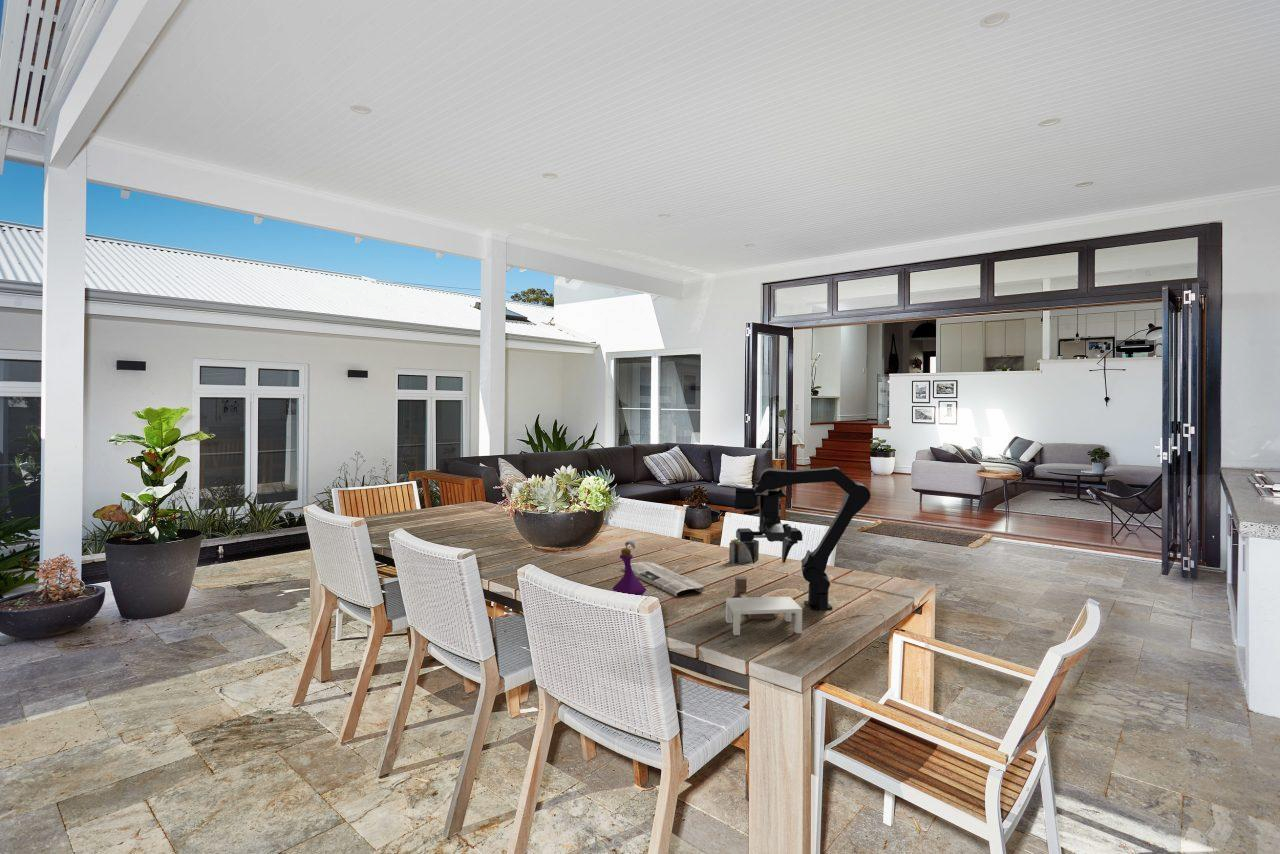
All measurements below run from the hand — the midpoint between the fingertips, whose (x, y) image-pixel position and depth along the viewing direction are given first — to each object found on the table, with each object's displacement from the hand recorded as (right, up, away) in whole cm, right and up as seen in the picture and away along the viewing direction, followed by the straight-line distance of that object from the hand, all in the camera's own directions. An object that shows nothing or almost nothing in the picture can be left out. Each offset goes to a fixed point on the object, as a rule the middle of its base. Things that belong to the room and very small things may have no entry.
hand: (768, 563), depth 192 cm
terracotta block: (-1, -13, -9) cm, 16 cm away
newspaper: (-30, -11, +23) cm, 39 cm away
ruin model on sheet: (0, -10, +47) cm, 48 cm away
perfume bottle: (-41, -12, +3) cm, 43 cm away
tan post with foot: (-5, -12, -3) cm, 13 cm away
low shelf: (-5, -13, -19) cm, 24 cm away
